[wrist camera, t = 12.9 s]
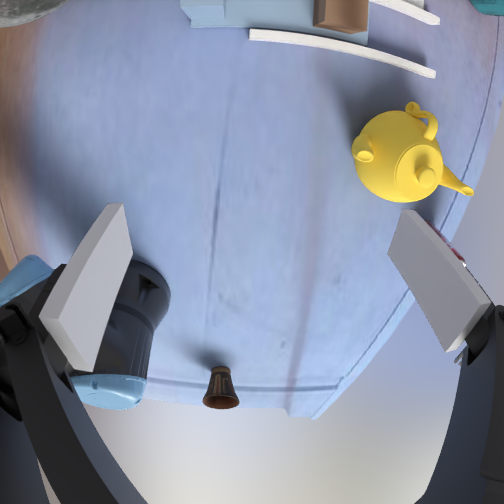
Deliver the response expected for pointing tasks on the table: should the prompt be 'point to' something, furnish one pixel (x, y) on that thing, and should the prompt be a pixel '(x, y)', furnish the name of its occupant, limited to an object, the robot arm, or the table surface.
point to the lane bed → (407, 3)
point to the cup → (220, 390)
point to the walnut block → (341, 15)
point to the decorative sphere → (26, 10)
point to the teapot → (402, 156)
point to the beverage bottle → (489, 7)
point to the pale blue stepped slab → (263, 16)
